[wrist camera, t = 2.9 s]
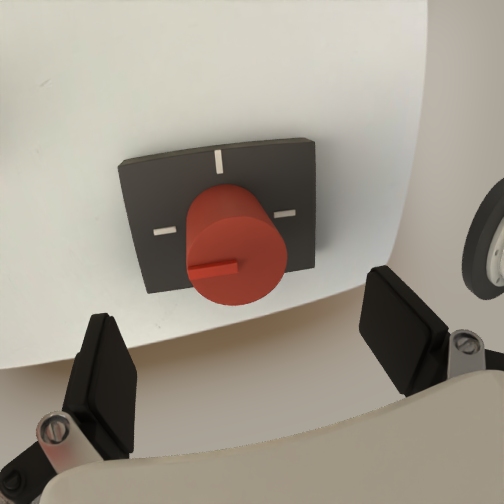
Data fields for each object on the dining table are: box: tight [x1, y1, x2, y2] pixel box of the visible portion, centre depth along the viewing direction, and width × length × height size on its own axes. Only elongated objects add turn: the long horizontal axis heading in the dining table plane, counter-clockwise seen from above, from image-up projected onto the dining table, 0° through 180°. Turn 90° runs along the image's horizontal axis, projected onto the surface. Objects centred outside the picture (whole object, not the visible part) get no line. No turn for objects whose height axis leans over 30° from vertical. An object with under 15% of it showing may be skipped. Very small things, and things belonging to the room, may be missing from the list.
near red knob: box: [186, 184, 287, 306], centre depth 17 cm, size 5×5×6 cm
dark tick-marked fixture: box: [118, 138, 316, 294], centre depth 21 cm, size 12×9×2 cm
